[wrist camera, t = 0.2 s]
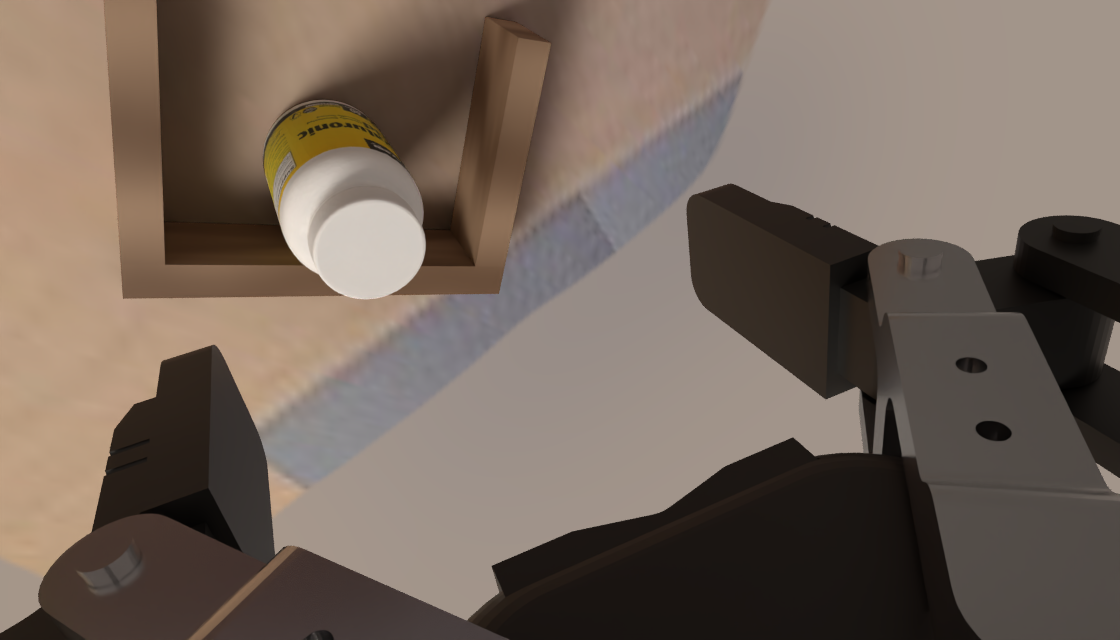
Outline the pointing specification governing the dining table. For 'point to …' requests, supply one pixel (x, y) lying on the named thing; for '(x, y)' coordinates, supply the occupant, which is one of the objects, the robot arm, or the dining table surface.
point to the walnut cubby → (261, 250)
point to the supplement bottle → (344, 199)
